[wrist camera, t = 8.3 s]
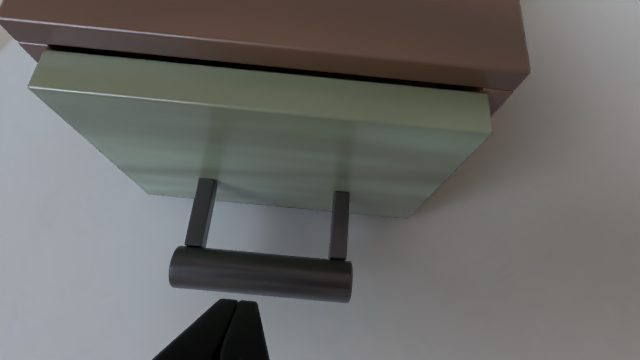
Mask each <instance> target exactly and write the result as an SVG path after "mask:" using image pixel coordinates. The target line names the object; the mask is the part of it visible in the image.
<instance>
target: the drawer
mask: <svg viewBox="0 0 640 360" xmlns="http://www.w3.org/2000/svg"><path fill="white" fill-rule="evenodd" d="M115 52H116V54H117V55H118V57H116V56H106V55H96V54H86V53H76V52H66V51H56V50H44V51H43V53H42V55H41V57H40V59H39V62H38V64H37V66H36V68H35V71H34V73H33V75H32V77H31V80H30V82H29V84H28V89H29V90H31V91H32V92H33V93H34V94H35V95H36V96H37V97H38V98H40V99H41V100H42V101H43V102H44V103H45V104H46V105H48V106H49V107H50V108H51V109H52V110H53V111H54V112H56V113H57V114H58V115H59V116H60V117H61V118H62V119H63V120H65V121H66V122H67V123H68V124H69V125H70V126H71V127H73V128H74V129H75V130H76V131H77V132H78V133H79V134H81V135H82V136H83V137H84V138H85V139H86V140H87V141H88V142H90V143H91V144H92V145H93V146H94V147H95V148H96V149H98V150H99V151H100V152H101V153H102V154H103V155H104V156H106V157H107V158H108V159H109V160H110V161H111V162H112V163H113V164H115V165H116V166H117V167H118V168H119V169H120V170H121V171H123V172H124V173H125V174H126V175H127V176H128V177H129V178H130V179H132V180H133V181H134V182H135V183H136V184H137V185H138V186H140V187H141V188H142V189H143V190H144V191H145V192H146V193H148V194H151V195H162V196H173V197H183V198H194V203H193V207H192V212H191V216H190V221H189V226H188V230H187V235H186V239H185V245H186V246H179V247H177V248H176V250H175V251H174V254H173V256H172V259H171V262H170V267H169V282H170V285H171V286H172V287H174V288H184V289H196V290H207V291H218V292H229V293H240V294H251V295H262V296H273V297H284V298H296V299H307V300H318V301H329V302H340V303H348V302H349V301H350V298H351V292H352V281H353V267H352V263H351V262H350V261H345V260H346V257H347V239H348V221H349V213H354V214H364V215H375V216H386V217H396V218H409V217H410V216H411V215H412V214H413V213H414V212H415V211H416V210H417V209H418V208H419V207H420V206H421V205H422V204H423V203H424V201H425V200H426V199H427V198H428V197H429V196H430V195H431V194H432V193H433V192H434V191H435V190H436V189H437V188H438V187H439V186H440V185H441V184H442V183H443V182H444V181H445V180H446V179H447V178H448V177H449V176H450V175H451V174H452V173H453V172H454V171H455V170H456V169H457V168H458V167H459V166H460V165H461V164H462V163H463V162H464V161H465V160H466V159H467V158H468V157H469V156H470V155H471V154H472V153H473V152H474V151H475V150H476V149H477V148H478V147H479V146H480V145H481V144H482V143H483V142H484V141H485V140H486V139H487V138H488V137H489V136H490V135H491V133H492V126H491V116H490V106H489V96H488V94H486V93H477V92H467V91H457V90H447V89H437V86H438V85H439V83H430V82H420V81H410V80H400V79H390V78H380V77H370V76H360V75H350V74H340V73H330V72H320V71H310V70H300V69H290V68H280V67H270V66H260V65H250V64H240V63H230V62H220V61H210V60H200V59H190V58H180V57H170V56H160V55H150V54H140V53H130V52H120V51H115ZM215 201H226V202H237V203H247V204H258V205H269V206H279V207H290V208H301V209H311V210H322V211H332V215H331V229H330V243H329V256H328V259H320V258H309V257H298V256H287V255H276V254H266V253H255V252H244V251H233V250H222V249H211V248H206V242H207V237H208V232H209V227H210V222H211V217H212V212H213V207H214V202H215Z"/></svg>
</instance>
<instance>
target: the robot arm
mask: <svg viewBox="0 0 640 360" xmlns="http://www.w3.org/2000/svg"><path fill="white" fill-rule="evenodd" d="M152 360H270V359H269V355H268V350H267V346H266V341H265V336H264V332H263V327H262V323H261V318H260V313H259V309H258V304H257V303H256V302H254V301H243V300H242V301H239V303H238V301H237V300H232V299H220V300H218V301H217V302H216V303H215V304H214V305H213V306H211V307H210V308H209V309H208V310H207V311H206V312H205V313H204V314H202V315H201V316H200V317H199V318H198V319H197V320H196V321H195V322H194V323H192V324H191V325H190V326H189V327H188V328H187V329H186V330H185V331H183V332H182V333H181V334H180V335H179V336H178V337H177V338H176V339H174V340H173V341H172V342H171V343H170V344H169V345H168V346H167V347H166V348H164V349H163V350H162V351H161V352H160V353H159V354H158V355H157V356H155V357H154V358H153V359H152Z"/></svg>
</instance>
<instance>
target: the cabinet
mask: <svg viewBox="0 0 640 360" xmlns="http://www.w3.org/2000/svg"><path fill="white" fill-rule="evenodd" d="M0 25H1V26H2V27H3V28H4V29H5V30H6V31H7V32H8V33H9V34H10V35H11V36H12V37H13V38H14V39H15V40H17V41H18V43H19V44H20V46H21V47H22V48H23V49H24V50H25V51H26V52H27V53H28V54H29V55H30V56H31V57H32V58H33V59H34V60H35V61H36V62H37V63H38V62H39V59H40V57H41V55H42V53H43V51H44V50H56V51H66V52H76V53H86V54H96V55H106V56H116V57H118V55H117V54H116V52H115V51H120V52H130V53H140V54H150V55H160V56H170V57H180V58H190V59H200V60H210V61H220V62H230V63H240V64H250V65H260V66H270V67H280V68H290V69H300V70H310V71H320V72H330V73H340V74H350V75H360V76H370V77H380V78H390V79H400V80H410V81H420V82H430V83H439V85H438V86H437V89H447V90H457V91H467V92H477V93H486V94H488V96H489V106H490V116H492V115H493V114H494V113H495V112H496V111H497V110H498V109H499V108H500V106H501V105H502V104H503V103H504V102H505V101H506V100H507V99H508V98H509V97H510V95H511V94H512V93H513V90H515V89H516V88H517V87H518V86H519V85H520V84H521V83H522V81H523V80H524V79H525V78H526V77H527V76H528V75H529V73H530V64H529V57H528V51H527V44H526V38H525V31H524V25H523V18H522V12H521V5H520V0H3V2H2V4H1V6H0Z"/></svg>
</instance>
